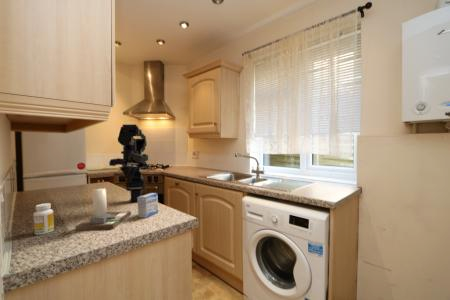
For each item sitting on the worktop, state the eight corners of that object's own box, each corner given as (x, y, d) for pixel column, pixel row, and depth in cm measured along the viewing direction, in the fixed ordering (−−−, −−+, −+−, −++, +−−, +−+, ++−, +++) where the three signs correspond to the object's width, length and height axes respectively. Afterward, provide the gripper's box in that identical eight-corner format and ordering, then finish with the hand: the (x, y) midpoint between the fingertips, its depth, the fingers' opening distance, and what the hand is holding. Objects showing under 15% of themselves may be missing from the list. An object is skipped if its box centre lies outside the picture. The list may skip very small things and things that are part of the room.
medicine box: (146, 218, 88) (145, 197, 87) (137, 217, 89) (137, 196, 89) (158, 212, 95) (157, 193, 95) (150, 211, 96) (149, 192, 96)
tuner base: (100, 215, 92) (100, 211, 92) (130, 214, 93) (130, 210, 93) (75, 230, 76) (75, 225, 76) (112, 229, 77) (112, 224, 77)
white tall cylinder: (97, 219, 83) (96, 188, 83) (117, 218, 83) (116, 187, 83) (89, 223, 78) (88, 191, 78) (111, 223, 78) (110, 190, 78)
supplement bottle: (52, 227, 80) (50, 201, 79) (55, 231, 76) (54, 204, 76) (32, 232, 75) (31, 205, 75) (36, 236, 72) (34, 207, 72)
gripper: (129, 144, 92) (128, 180, 90) (155, 150, 110) (156, 180, 107) (108, 147, 96) (107, 182, 93) (137, 152, 113) (137, 182, 111)
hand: (129, 181), depth 101 cm, fingers closed
